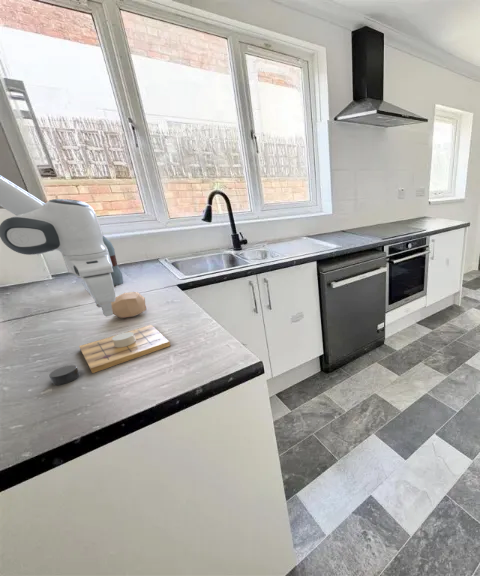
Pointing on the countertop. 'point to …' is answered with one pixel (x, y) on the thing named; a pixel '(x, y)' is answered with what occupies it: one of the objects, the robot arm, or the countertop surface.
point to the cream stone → (123, 339)
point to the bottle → (113, 263)
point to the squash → (128, 305)
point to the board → (122, 348)
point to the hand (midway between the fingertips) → (104, 310)
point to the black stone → (64, 375)
